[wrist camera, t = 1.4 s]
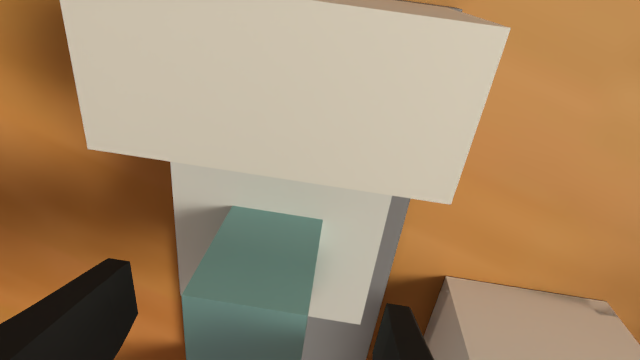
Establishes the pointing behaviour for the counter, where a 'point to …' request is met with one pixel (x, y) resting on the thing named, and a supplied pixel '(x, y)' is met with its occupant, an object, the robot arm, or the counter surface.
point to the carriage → (269, 259)
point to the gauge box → (523, 325)
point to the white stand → (292, 100)
